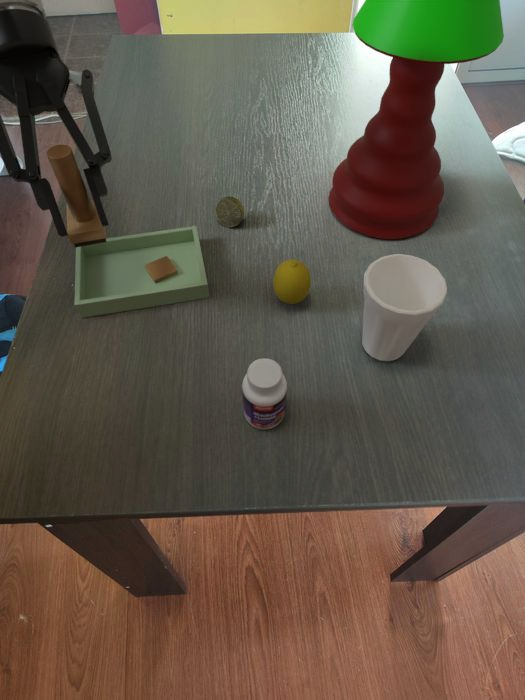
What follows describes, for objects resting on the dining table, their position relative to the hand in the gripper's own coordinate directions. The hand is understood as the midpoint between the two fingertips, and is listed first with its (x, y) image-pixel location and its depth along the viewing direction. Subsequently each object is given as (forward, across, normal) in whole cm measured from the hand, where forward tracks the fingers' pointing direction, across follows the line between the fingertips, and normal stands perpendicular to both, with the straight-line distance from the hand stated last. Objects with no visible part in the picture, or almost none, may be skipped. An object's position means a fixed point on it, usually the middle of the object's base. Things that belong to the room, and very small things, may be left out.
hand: (84, 229), depth 57 cm
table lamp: (+6, -50, -17) cm, 53 cm away
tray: (+7, -5, -16) cm, 18 cm away
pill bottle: (+28, -14, +5) cm, 32 cm away
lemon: (+17, -25, -6) cm, 31 cm away
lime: (+2, -23, -21) cm, 31 cm away
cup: (+26, -34, +3) cm, 43 cm away
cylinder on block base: (0, 0, -5) cm, 5 cm away
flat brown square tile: (+7, -8, -15) cm, 19 cm away
